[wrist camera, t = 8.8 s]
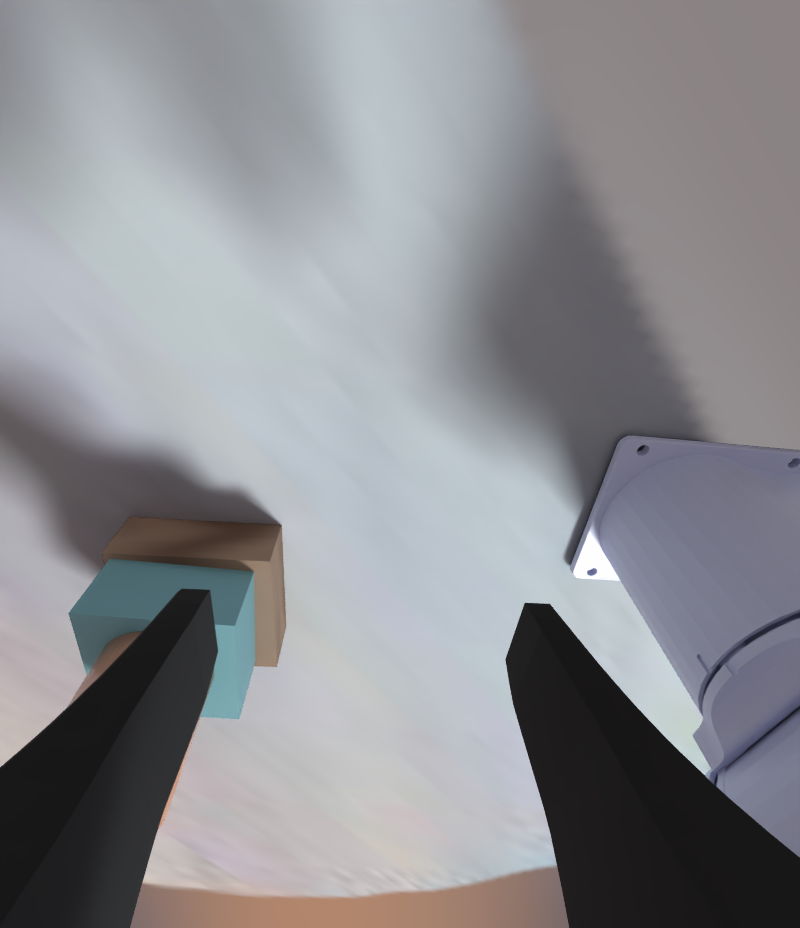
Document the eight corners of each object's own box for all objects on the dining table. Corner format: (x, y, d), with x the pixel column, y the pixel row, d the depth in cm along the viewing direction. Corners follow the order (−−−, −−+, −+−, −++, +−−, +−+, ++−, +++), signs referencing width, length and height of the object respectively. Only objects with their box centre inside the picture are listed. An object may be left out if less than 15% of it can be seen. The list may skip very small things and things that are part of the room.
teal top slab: (254, 571, 20) (234, 626, 18) (255, 660, 23) (239, 719, 21) (110, 558, 20) (68, 613, 17) (129, 651, 23) (97, 710, 20)
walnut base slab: (283, 519, 23) (269, 561, 20) (287, 619, 26) (276, 666, 24) (134, 510, 22) (100, 552, 20) (158, 614, 26) (133, 661, 23)
